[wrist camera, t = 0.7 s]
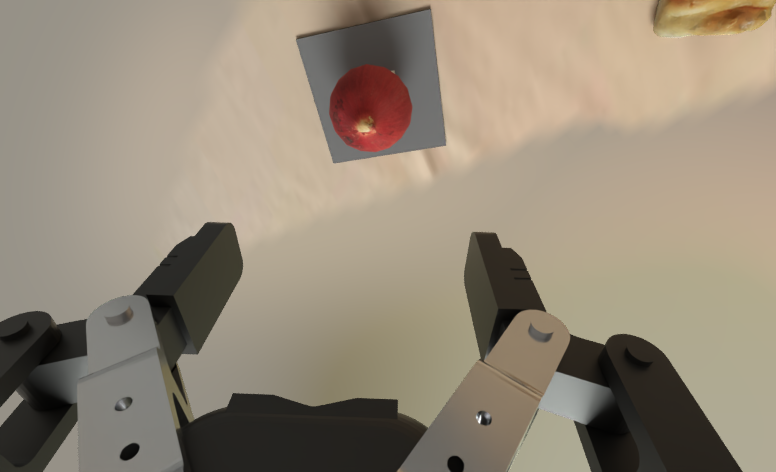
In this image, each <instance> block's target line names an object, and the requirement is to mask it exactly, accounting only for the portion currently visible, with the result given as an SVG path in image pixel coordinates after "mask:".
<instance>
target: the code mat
mask: <svg viewBox="0 0 776 472" xmlns="http://www.w3.org/2000/svg"><path fill="white" fill-rule="evenodd" d="M296 41H297V45H298V48H299V51H300V55H301V58H302V61H303V64H304V68H305V71H306V74H307V78H308V81H309V84H310V87H311V91H312V94H313V97H314V101H315V104H316V107H317V110H318V114H319V117H320V120H321V124H322V127H323V130H324V133H325V137H326V140H327V143H328V147H329V150H330V153H331V156H332V160H333V163H340V162H346V161H352V160H358V159H365V158H371V157H377V156H383V155H390V154H396V153H402V152H408V151H415V150H421V149H427V148H433V147H440V146H446V141H445V132H444V123H443V114H442V106H441V97H440V88H439V79H438V71H437V62H436V53H435V44H434V36H433V27H432V18H431V9H428V10H424V11H419V12H415V13H411V14H406V15H402V16H397V17H393V18H388V19H384V20H380V21H375V22H371V23H366V24H362V25H358V26H353V27H349V28H344V29H340V30H336V31H331V32H327V33H322V34H318V35H314V36H309V37H305V38H300V39H296ZM365 64H369V65H375V66H380V67H385V68H387V69H388V70H390V71H391V72H393V73H394V74H396V75H398V76H399V78H400V79H401V80H402V82H403V83H404V84H405V86H406V87H407V89H408V92H409V96H410V99H411V103H412V115H411V122H410V125H409V127H408V128H407V130H406V131H405V133H404V135H403V136H402V138H401V139H399V140H398V141H397V142H396V143H395V144H393V145H392V146H391V147H390V148H388V149H385V150H381V151H378V152H367V151H360V150H357V149H355V148H353V147H350V146H348V145H346V144H345V142H344V141H343V140H342V139H341V138H340V137H339V135H338V134H337V133H336V132H335V130H334V127H333V124H332V121H331V118H330V115H329V106H330V96H331V93H332V91H333V89H334V88H335V86H336V84H337V82H338V80H339V79H340V78H341V77H342V76H344V75H345V74H346V73H347V72H348V71H349V70H350V69H353V68H356V67H359V66H362V65H365Z"/></svg>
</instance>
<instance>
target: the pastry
mask: <svg viewBox="0 0 776 472" xmlns="http://www.w3.org/2000/svg"><path fill="white" fill-rule="evenodd" d="M775 3H776V0H659V3H658V6H657V10H656V17H655V20H654V28H653V31H654V33H655V34H656V35H657V36H659V37H669V38H680V37H684V36H694V35H704V36H706V35H733V34H739V33H742V32H744V31H746V32H748V31H752V30H755V29H757V28H759V27H760V26H762V25H763V24H764V23H765V22H766V21H767V20H768V19H769V18H770V17H771V10H772V8H773V6H774V4H775Z"/></svg>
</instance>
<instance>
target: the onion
mask: <svg viewBox="0 0 776 472" xmlns="http://www.w3.org/2000/svg"><path fill="white" fill-rule="evenodd" d="M329 115H330V118H331V121H332V124H333V127H334V130H335V132H336V133H337V134H338V135H339V137H340V138H341V139H342V140H343V141H344V142H345V144H346V145H348V146H350V147H353V148H355V149H357V150H360V151H367V152H378V151H381V150H385V149H388V148H390V147H391V146H392V145H393V144H395V143H396V142H397V141H398V140H399V139H401V138H402V136H403V135H404V133H405V131H406V130H407V128H408V127H409V125H410V122H411V115H412V103H411V99H410V96H409V92H408V89H407V87H406V86H405V84H404V83H403V82H402V80H401V79H400V78H399V76H398V75H396V74H394V73H393V72H391V71H390V70H388V69H387V68H385V67H380V66H375V65H369V64H365V65H362V66H359V67H356V68H353V69H350V70H349V71H348V72H347V73H346V74H345V75H344V76H342V77H341V78H340V79H339V80H338V82H337V84H336V86H335V88H334V89H333V91H332V93H331V96H330V106H329Z"/></svg>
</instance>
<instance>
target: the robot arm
mask: <svg viewBox="0 0 776 472" xmlns="http://www.w3.org/2000/svg"><path fill="white" fill-rule="evenodd" d="M242 270H243V260H242V256H241V252H240V248H239V244H238V240H237V236H236V232H235V228H234V226H233V225H232V224H231V223H217V222H207V223H205V224H204V226H203V227H202V228H201V229H200V230H199V232H198V233H197V234H196V235H195V236H190V237H189V238H187V239H185V240H184V241H182V242H181V243H179V244H177V245H176V246H175V247H174V248H173V250H172V251H171V252H170V253H169V254H168V255H167V258H165V259H164V260H163V261H162V262H161V263H160V266H158V267H157V268H156V269H155V270H154V271H153V272H152V273H151V275H150V276H149V277H148V278H147V279H146V280H145V281H144V282H143V284H142V285H141V286H140V287H139V288H138V289H137V290H136V292H135V293H134V294H133V295H128V296H122V297H119V298H115V299H113V300H110V301H108V302H107V303H104V304H103V305H101V306H99V307H98V308H97V309H96V310H94V311H93V312H92V313H91V314H90V316H89V317H88V319H85V320H79V321H74V322H69V323H64V324H59V325H56V323H55V322H54V320H53V319H52V317H51V316H50V315H49V314H48V313H45V312H40V311H34V312H27V313H23V314H19V315H16V316H13V317H10V318H8V319H6V320H4V321H2V322H0V407H1V406H2V405H3V403H5V401H6V400H7V399H8V398H9V397H10V396H11V395H12V394H13V392H14V391H15V390H16V391H17V392H18V393H19V395H20V396H21V397H22V398H23V399H24V400H23V401H22V402H21V403H20V404H19V406H18V407H17V408H16V409H15V410H14V411H13V413H12V414H11V415H10V416H9V417H8V418H7V420H6V421H5V422H4V423H3V424H2V425H1V427H0V472H43V470H44V469H45V468H46V466H47V465H48V463H49V462H50V460H51V459H52V457H53V456H54V454H55V453H56V451H57V450H58V449H59V447H60V445H61V444H62V443H63V441H64V440H65V438H66V437H67V435H68V434H69V433H70V431H71V429H72V428H73V427H74V425H75V424H76V422H77V421H78V453H79V454H78V455H79V472H509V471H510V469H511V467H512V465H513V462H514V460H515V458H516V456H517V454H518V452H519V450H520V448H521V446H522V444H523V442H524V440H525V437H526V435H527V433H528V431H529V429H530V427H531V425H532V423H533V421H534V419H535V417H536V415H537V412H538V411H539V409H542V410H545V411H548V412H551V413H554V414H557V415H559V416H562V417H565V418H568V419H571V420H574V423H575V425H576V428H577V431H578V434H579V437H580V440H581V443H582V446H583V449H584V452H585V455H586V458H587V460H588V463H589V466H590V469H591V472H742V470H741V469H740V467H739V466H738V464H737V463H736V461H735V460H734V458H733V457H732V455H731V453H730V452H729V450H728V449H727V447H726V446H725V444H724V443H723V442H722V440H721V439H720V437H719V435H718V434H717V432H716V431H715V429H714V428H713V426H712V425H711V423H710V422H709V420H708V419H707V417H706V416H705V414H704V413H703V411H702V409H701V408H700V406H699V405H698V403H697V402H696V400H695V399H694V397H693V396H692V394H691V393H690V391H689V390H688V388H687V387H686V385H685V384H684V382H683V381H682V379H681V378H680V376H679V375H678V373H677V372H676V370H675V369H674V367H673V366H672V364H671V363H670V361H669V359H668V358H667V357H666V356H665V354H664V353H663V352H662V351H661V350H659V349H658V348H657V347H656V346H654V345H653V344H651V343H650V342H648V341H646V340H644V339H642V338H639V337H636V336H633V335H627V334H618V335H614V336H611V337H610V338H609V339H608V340H607V342H606V344H605V345H603V344H600V343H596V342H593V341H589V340H585V339H582V338H579V337H576V336H573V335H571V334H570V333H569V331H568V329H567V327H566V326H565V325H564V324H563V322H561V321H560V320H559V319H558V318H556V317H555V316H553V315H551V314H549V313H547V312H546V310H545V307H544V305H543V303H542V301H541V299H540V297H539V294H538V292H537V290H536V288H535V286H534V283H533V281H532V280H531V277H530V275H529V273H528V271H527V268H526V266H525V264H524V262H523V260H522V258H521V257H520V256H519V255H518V254H517V253H516V252H515V251H513V250H512V249H511V248H502V247H501V244H500V242H499V239H498V237H497V234H496V233H486V232H473V233H472V234H471V237H470V243H469V249H468V254H467V260H466V265H465V271H464V281H465V282H464V283H465V289H466V293H467V298H468V302H469V307H470V312H471V316H472V321H473V325H474V330H475V334H476V338H477V343H478V347H479V352H480V356H481V359H479V360H478V361H477V362H476V363H475V365H474V366H473V367H472V368H471V370H470V371H469V372H468V374H467V375H466V377H465V378H464V380H463V381H462V382H461V384H460V385H459V386H458V388H457V389H456V390H455V392H454V393H453V395H452V396H451V398H450V399H449V400H448V402H447V403H446V405H445V406H444V407H443V409H442V410H441V411H440V413H439V414H438V415H437V417H436V418H435V420H434V421H433V422H432V424H431V425H430V427H429V428H427V427H426V426H425V425H423V424H422V423H420V422H418V421H417V420H415V419H413V418H411V417H409V416H406V415H403V414H400V413H398V412H397V411H398V409H397V408H398V400H393V399H367V398H355V399H350V400H346V401H340V402H336V403H331V404H326V405H321V406H316V407H312V406H308V405H304V404H301V403H298V402H294V401H291V400H288V399H285V398H282V397H279V396H275V395H263V394H236V393H233V394H232V397H231V399H230V402H229V404H228V406H227V407H225V408H221V409H218V410H215V411H212V412H210V413H207V414H205V415H203V416H201V417H199V418H197V419H194V416H193V413H192V410H191V407H190V403H189V400H188V396H187V393H186V389H185V385H184V382H183V379H182V375H181V372H180V368H179V366H178V364H177V360H178V359H179V357H180V356H181V354H198V353H199V351H200V349H201V348H202V346H203V344H204V342H205V340H206V339H207V337H208V335H209V333H210V331H211V330H212V328H213V326H214V324H215V322H216V321H217V319H218V317H219V315H220V313H221V312H222V310H223V308H224V306H225V305H226V302H227V301H228V299H229V297H230V295H231V293H232V292H233V290H234V288H235V286H236V285H237V283H238V281H239V279H240V277H241V275H242Z"/></svg>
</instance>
